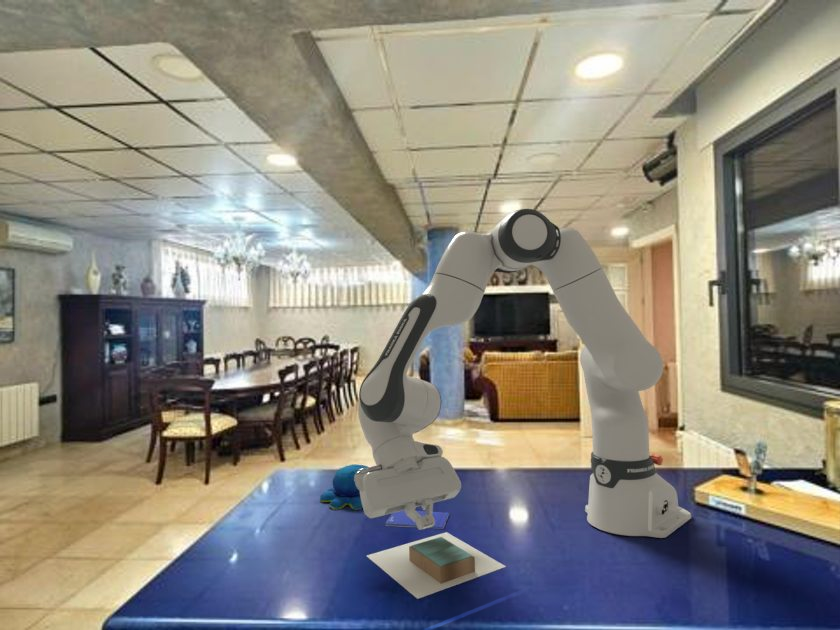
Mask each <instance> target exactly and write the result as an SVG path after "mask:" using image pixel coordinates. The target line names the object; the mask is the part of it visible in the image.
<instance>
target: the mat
mask: <svg viewBox="0 0 840 630" xmlns="http://www.w3.org/2000/svg"><path fill="white" fill-rule="evenodd" d="M439 537H442V538H444V539H446V540H447V541H449V542H451V543H452V544H454V545H456V546H457V547H459V548H461V549H462V550H464V551H466V552H467V553H469V554H471V555H472V556H474V557H475V572H473V573H470V574H467V575H464V576H461V577H459V578H456V579H453V580H450V581H447V582H445V583H442V584H441V583H439V582H438V581H437V580H435V579H434V578H432V577H431V576H430V575H428V574H427V573H426V572H424V571H423V570H422V569H420V568H419V567H418V566H416V565H415V564H413V563H412V562H411V561H410V560H409V546H412V545H415V544H418V543H422V542H425V541H429V540H432V539H435V538H439ZM366 557H367V558H368V559H369V560H371V562H372V563H374V564H375V565H377V567H379V568H380V569H381V570H382V571H384V573H386V574H387V575H388V576H389V577H391V579H393V581H394V580H395V581H396V582H397V583H398V584H399V585H400V586H402V588H404V589H405V590H406V591H407V592H409V594H411V595H412V596H413V597H414V598H416V599H417V600H418V599H422V598H424V597H427V596H430V595H432V594H436V593H437V592H440V591H444V590H445V589H448V588H451V587H455V586H456V585H457V586H458V585H460V584H462V583H466V582H469V581H471V580H474V579H477V578H479V577H482V576H485V575H487V574H490V573H494V572H495V571H499V570H501V569H504V568H506V567H507V566H506V565H504V564H503V563H501V562H499V561H498V560H496V559H494V558H492V557H490V556H489V555H487V554H485V553H484V552H482V551H480V550H479V549H476V548H475V547H473V546H471V545H470V544H468V543H466V542H464V541H463V540H461V539H459V538H457V537H456V536H453V535H452V534H451V533H449V532H447V531H446V532H442V533H438V534H436V535H432V536H428V537H425V538H422V539H418V540H415V541H412V542H411V541H410V542H408V543H405V544H401V545H397V546H395V547H391V548H388V549H384V550H380V551H377V552H374V553H371V554H367V555H366Z"/></svg>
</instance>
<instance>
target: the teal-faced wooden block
mask: <svg viewBox="0 0 840 630" xmlns="http://www.w3.org/2000/svg"><path fill="white" fill-rule="evenodd" d="M409 560H410V561H411V562H412V563H413V564H415V565H416V566H418V567H419V568H420V569H422V570H423V571H424V572H426V573H427V574H428V575H430V576H431V577H432V578H434V579H435V580H437V581H438V582H439V583H441V584H442V583H445V582H447V581H450V580H453V579H456V578H459V577H461V576H464V575H467V574H470V573H473V572H475V557H474V556H472V555H471V554H469V553H467V552H466V551H464V550H462V549H461V548H459V547H457V546H456V545H454V544H452V543H451V542H449V541H447V540H446V539H444V538H442V537H439V538H435V539H432V540H429V541H425V542H422V543H418V544H415V545H412V546H409Z"/></svg>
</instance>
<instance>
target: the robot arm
mask: <svg viewBox="0 0 840 630" xmlns="http://www.w3.org/2000/svg"><path fill="white" fill-rule="evenodd" d="M530 266H534V267H536V268H538V269H539V270H540V271H541V272H542V273H543V275H544V276H545V277H546V279H547V281H548V285H549V286H550V289H551V290H552V293H553V295H554V296H555V299H556V301H557V303H558V305H559V306H560V308H561V312H562V313H563V315H564V317H565V319H566V321H567V323H568V325H569V326H570V327H571V328H572V329H573V331H574V332H575V333H576V334H577V336H578V337H579V339H580V340H581V342H582V343H583V345H584V346H583V347H582V349H581V351H580V354H579V355H580V356H579V361H580V366H581V369H582V372H583V376H584V383H585V388H586V394H587V399H588V404H589V408H590V409H589V410H590V414H591V415H590V416H591V417H590V418H591V433H592V434H591V436H592V437H591V438H592V452H591V453H590V470H591V472H592V473H591V475H590V476H589V485H588V486H589V487H588V488H589V489H588V504H586V505H585V506H584V507H585V508H584V511H585V512H586V513H587V516H586V521H587V522H588V523H589V525H591V526H593V527H595V528H597V529H598V530H600V531H603V532H606V533H609V534H614V535H619V536H628V537H651V538H659V539H663V538H667V537H668V536H670V535H671V534H672V533H674V532H675V531H676V530H677V529H678V528H681V526H683V525H684V524H685V523H687V522H688V521H690V520H691V519H692V513H691V512H689V511H688V510H687V509H685V508H683V507H681V506H679V499H678V493H677V489H676V488H675V487H674V486H672V485H671V484H670V483H669V482H668V481H666V479H664V478H663V477H661V475H659V474H658V473H657V469H656V467H655V465H657V466H661V465H663V462H664V458H663V455H657V454H654V453H652V454H650V432H649V418H648V415H647V412H646V411H645V407H644V406H643V402H642V399H641V396H640V392H641V391H646V390H649V389H651V388H652V387H653V386H655V385H657V384H658V381H660V379H661V377H662V375H663V372H664V361H663V357H662V356H661V353H660V352H659V350H658V349H657V348H656V347H655V346H654V345H652V343H651V342H650V341H649V340H648V339H647V338H646V337H645V335H644V334H643V332H642V331H641V330H640V328H639V327H638V325H637V324H636V323H635V321H634V320H633V318H632V317H631V316H630V315H629V313H628V312H627V310H626V309H625V307H624V306H623V304H622V303H621V302H620V300H619V298H618V296H617V294H616V292H615V290H614V289H613V286H612V284H611V283H610V281H609V279H608V277H607V274H606V273H605V271H604V268H603V267H602V264H601V262H600V261H599V259H598V257H597V255H596V254H595V252H594V251H593V249H592V247H591V246H590V243H588V242H587V240H586V239H585V237H584V236H583V235H582V233H580V231H579V230H577V229H575V228H571V227H570V228H569V227H563V228H559V226H557V225H556V224H554V223H553V222H551V221H550V219H549V218H548V217H547V216H546V215H544V214H543V213H541V212H540V211H537V210H535V209H533V208H521V209H516V210H514V211H511V212H510V213H508V214H507V215H506V216H505V217H504V218H503V219H501V220H500V221H499V222H498V223H496V225H495V227H494V228H493V229H492V230H491V231H490V232H489V234H481V233H478V232H475V231H462V232H461V231H460V232H459V233H457V234H455V236H453V237H452V239H451V241H450V242H449V244H448V245H447V247H446V248H445V250H444V252H443V254H442V256H441V258H440V260H439V262H438V265H437V267H436V269H435V272H434V273H433V277H432V279H431V280H430V282H429V284H428V285H427V287H426V288H425V290H424V291H423V292H422V294H419V295H417V296H416V297H415V298H414V299H413V300H412V301H411V302H410V303H409V304H408V306H407V307H406V309H405V311H404V313H403V314H402V316H401V318H400V320H399V321H398V323H397V324H396V327H395V328H394V331H393V333H391V336H390V338H389V340H388V342H387V343H386V345H385V348H384V349H383V351H382V352H381V354H380V356H379V358H378V360H377V361H376V362H375V364H374V366H373V367H372V368H371V369H370V370H369V372H368V373H367V374H366V375H365V377H364V378H363V381H362V383H361V384H360V387H359V395H358V399H359V402H358V404H357V405H358V406H357V410H358V411H357V413H358V419H359V423H360V424H359V425H360V426H361V430H362V432H363V434H364V438H365V440H366V442H367V443H368V444H369V446H370V447H371V449H372V450H371V451H372V457H373V460H374V463H375V464H376V465H373V466H368V467H369V468H362V469H359V471H358V472H357V473H356V474H355V476H354V481H355V484H356V487H357V488H358V490H360V497H361V502H362V506H363V509H362V510H363V513H364V515H365V516H366V517H367V518H369V519H374V518H379V517H383V516H386V515H390V514H391V515H392V513H395V512H399V511H403V510H404V511H405V513H406V515H407V516H408V517H409V518H410V519H412V520H413V521H414V522H415V523H416V525H417V527H418V528H417V527H416V528H417V530H419V531H422V530H425V529H430V528H429V527H432V526H434V524H435V520H434V517H433V515H432V512H434V503H437V502H442V501H446V500H451V499H454V498H456V497H457V495H458V494H459V493H460V492H461V488H462V482H461V480H460V478H459V475H458V474H457V472H456V470H455V469H454V466H453V465H452V464H451V462H450V461H449V460H448V459H447V458H446V457H444V456H442V455H443V453H444V451H443V448H442V447H441V445H437V444H431V443H425V442H420V441H416V440H415V439H414V436H413V435H414V434H416V433H418V432H421V431H423V430H424V429H426V428H427V427H429V426H430V425H431V424H433V423H434V421H436V420H437V418H438V417H439V414H440V412H441V408H442V397H441V393H440V390H439V389H438V387H437V386H436V385H434V384H433V383H431V382H429V381H426V380H424V379H420V378H416V377H412V376H410V375H407V374H408V370H409V368H410V367H411V365H412V363H413V361H414V359H415V358H416V355H417V353H418V351H419V350H420V348H421V346H422V344H423V342H424V340H425V339H426V338H427V336H428V335H429V334H431V333H432V332H434V331H435V330H437V329H440V328H446V327H449V328H450V327H455V326H459V325H463V324H464V323H467V322H468V321H470V320H471V319H472V318H473V317H474V315H475V314H476V313H477V310H478V309H479V307H480V305H481V303H482V299H483V297H484V294H485V292H486V289H487V287H488V282H489V280H490V278H491V276H493V273H494V272H497V273H504V274H505V273H506V274H510V273H511V274H512V273H517V272H519V271H521V270H524V269H526V268H528V267H530ZM417 507H421V509H422V511H426V515H425V516H421V515H420V514H419V513H418V512H417V511H418V510H416V508H417Z"/></svg>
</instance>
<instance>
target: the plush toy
mask: <svg viewBox="0 0 840 630" xmlns="http://www.w3.org/2000/svg"><path fill="white" fill-rule="evenodd" d="M369 467H370V466H367V465H365V464H364V465H363V464H349V465H345V466H343V467H340V468H339V469H338V470H337V471H336V472H335V474H334V475H333V477H332V486H331V487H329V488H328V489H327V490H326V491H324V492H323V493H321V494H320V497H319V500H320V503H329V504H328V505H329V508H331V509H332V510H336V511H337V510H341V509H343V508H344V507H346V506H347V505H348V506H349V507H350V508H351V509H352V510H354V511H357V510H358V509H359V510H363V509H362V508H363V506H362V502H361V497H360V490H358V488H357V487H356V484H355V481H354V476H355V474H356V473H357V472H358V471H359V469H362V468H369Z"/></svg>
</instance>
